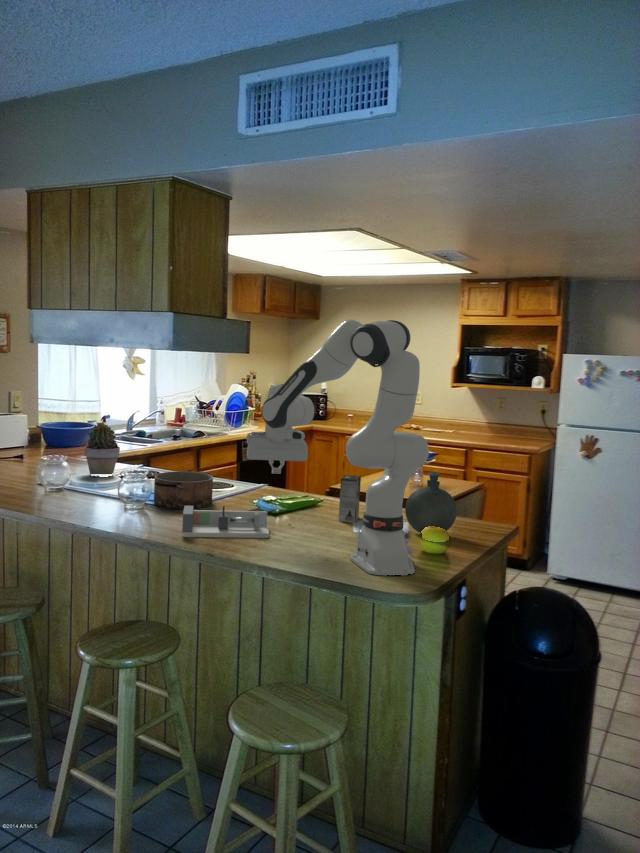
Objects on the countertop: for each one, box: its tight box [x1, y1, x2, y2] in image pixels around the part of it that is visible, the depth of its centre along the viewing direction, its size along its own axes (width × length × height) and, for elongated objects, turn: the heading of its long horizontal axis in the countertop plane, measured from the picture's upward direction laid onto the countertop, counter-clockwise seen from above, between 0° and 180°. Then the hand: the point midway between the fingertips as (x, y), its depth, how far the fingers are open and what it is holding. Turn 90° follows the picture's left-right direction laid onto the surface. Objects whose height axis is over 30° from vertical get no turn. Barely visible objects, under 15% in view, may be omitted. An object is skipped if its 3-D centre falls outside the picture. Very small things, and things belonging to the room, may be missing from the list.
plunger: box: [230, 510, 259, 530], centre depth 231 cm, size 6×10×5 cm, turn 99°
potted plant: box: [83, 422, 121, 475], centre depth 316 cm, size 18×20×25 cm
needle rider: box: [218, 505, 228, 529], centre depth 230 cm, size 5×3×7 cm, turn 9°
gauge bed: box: [181, 506, 270, 539], centre depth 230 cm, size 12×28×8 cm, turn 99°
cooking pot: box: [153, 470, 214, 510], centre depth 270 cm, size 30×22×11 cm
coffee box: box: [338, 474, 362, 523], centre depth 258 cm, size 9×6×16 cm
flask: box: [404, 471, 458, 534], centre depth 242 cm, size 12×17×22 cm
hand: (276, 473), depth 231 cm, fingers closed
